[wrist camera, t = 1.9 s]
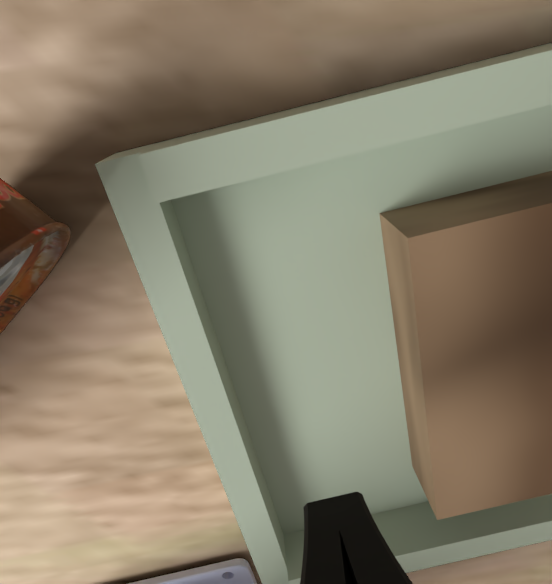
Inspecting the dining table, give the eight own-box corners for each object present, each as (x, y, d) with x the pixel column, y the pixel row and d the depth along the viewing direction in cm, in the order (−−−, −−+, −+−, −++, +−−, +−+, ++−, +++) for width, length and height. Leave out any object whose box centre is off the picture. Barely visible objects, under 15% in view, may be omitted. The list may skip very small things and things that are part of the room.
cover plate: (412, 466, 18) (437, 520, 16) (379, 213, 14) (407, 238, 11) (579, 427, 18) (628, 476, 16) (604, 157, 13) (678, 171, 11)
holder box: (262, 547, 20) (266, 604, 18) (114, 153, 13) (88, 167, 10) (588, 472, 20) (632, 521, 18) (637, 20, 12) (727, 5, 10)
